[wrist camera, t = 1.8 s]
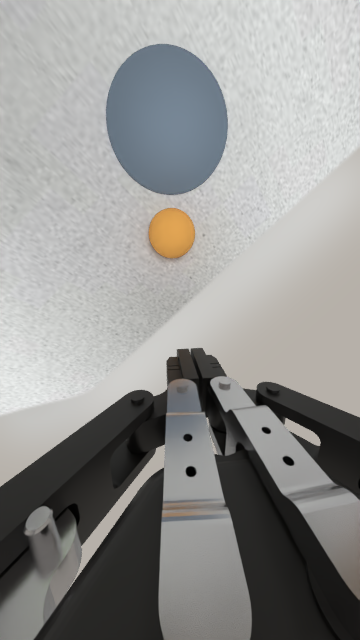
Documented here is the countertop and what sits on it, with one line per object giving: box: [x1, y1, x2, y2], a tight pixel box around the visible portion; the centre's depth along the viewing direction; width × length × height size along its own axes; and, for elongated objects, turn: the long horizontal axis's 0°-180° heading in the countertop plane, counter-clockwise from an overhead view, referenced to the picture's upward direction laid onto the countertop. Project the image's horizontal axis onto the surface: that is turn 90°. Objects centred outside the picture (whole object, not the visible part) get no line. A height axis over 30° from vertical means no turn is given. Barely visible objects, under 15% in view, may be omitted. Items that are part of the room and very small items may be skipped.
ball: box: [149, 208, 195, 258], centre depth 24 cm, size 6×6×6 cm
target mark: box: [106, 44, 228, 195], centre depth 23 cm, size 14×14×1 cm
